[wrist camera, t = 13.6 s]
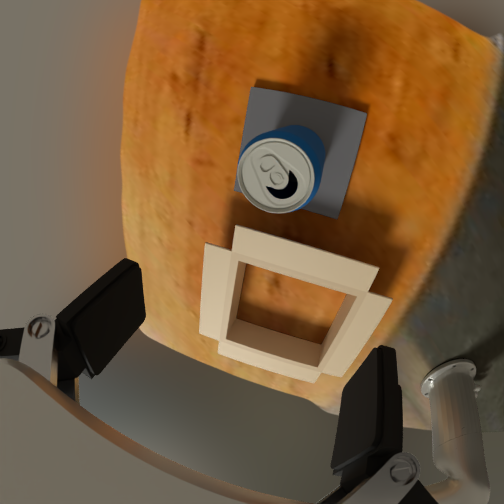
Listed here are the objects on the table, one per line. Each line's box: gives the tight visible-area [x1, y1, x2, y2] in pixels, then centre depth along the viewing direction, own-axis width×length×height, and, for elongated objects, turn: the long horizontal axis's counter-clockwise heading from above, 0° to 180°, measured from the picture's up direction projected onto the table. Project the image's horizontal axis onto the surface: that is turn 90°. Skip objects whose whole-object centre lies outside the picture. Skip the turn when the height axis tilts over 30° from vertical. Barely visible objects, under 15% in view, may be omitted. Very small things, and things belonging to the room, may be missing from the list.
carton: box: [199, 224, 393, 383], centre depth 38 cm, size 24×24×5 cm
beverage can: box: [237, 125, 325, 213], centre depth 24 cm, size 6×6×12 cm
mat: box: [234, 87, 367, 219], centre depth 29 cm, size 13×13×1 cm
